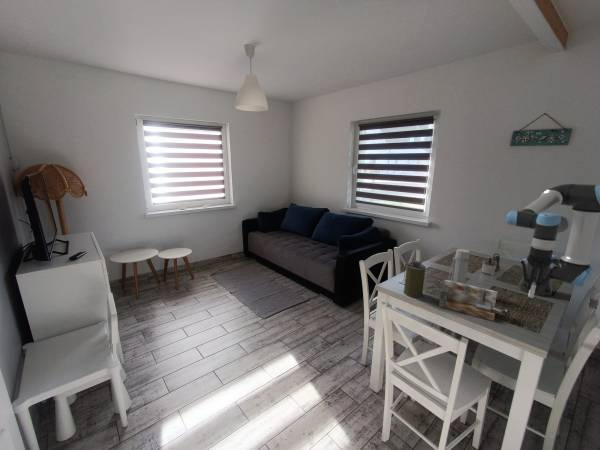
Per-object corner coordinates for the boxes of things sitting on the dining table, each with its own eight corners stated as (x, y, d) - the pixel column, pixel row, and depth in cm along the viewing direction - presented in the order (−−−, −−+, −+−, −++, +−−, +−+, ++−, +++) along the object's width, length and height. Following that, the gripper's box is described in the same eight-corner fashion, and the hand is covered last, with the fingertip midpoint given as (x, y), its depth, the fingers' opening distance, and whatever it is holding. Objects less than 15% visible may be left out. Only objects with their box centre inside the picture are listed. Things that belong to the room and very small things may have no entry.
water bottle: (461, 287, 164) (468, 249, 158) (466, 293, 156) (472, 253, 151) (445, 285, 166) (451, 247, 160) (448, 291, 159) (454, 251, 153)
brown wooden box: (493, 312, 137) (497, 291, 134) (493, 321, 129) (498, 299, 126) (441, 298, 150) (444, 279, 147) (438, 306, 142) (441, 286, 139)
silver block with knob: (508, 314, 131) (512, 297, 129) (509, 319, 127) (512, 302, 125) (475, 305, 139) (478, 289, 137) (475, 310, 134) (477, 294, 132)
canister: (423, 292, 157) (427, 260, 153) (421, 299, 148) (425, 266, 144) (404, 287, 163) (407, 257, 158) (401, 294, 154) (404, 262, 149)
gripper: (560, 248, 117) (548, 297, 122) (522, 243, 124) (512, 289, 129) (564, 252, 111) (551, 304, 116) (523, 247, 118) (513, 295, 123)
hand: (530, 296), depth 123 cm, fingers closed
